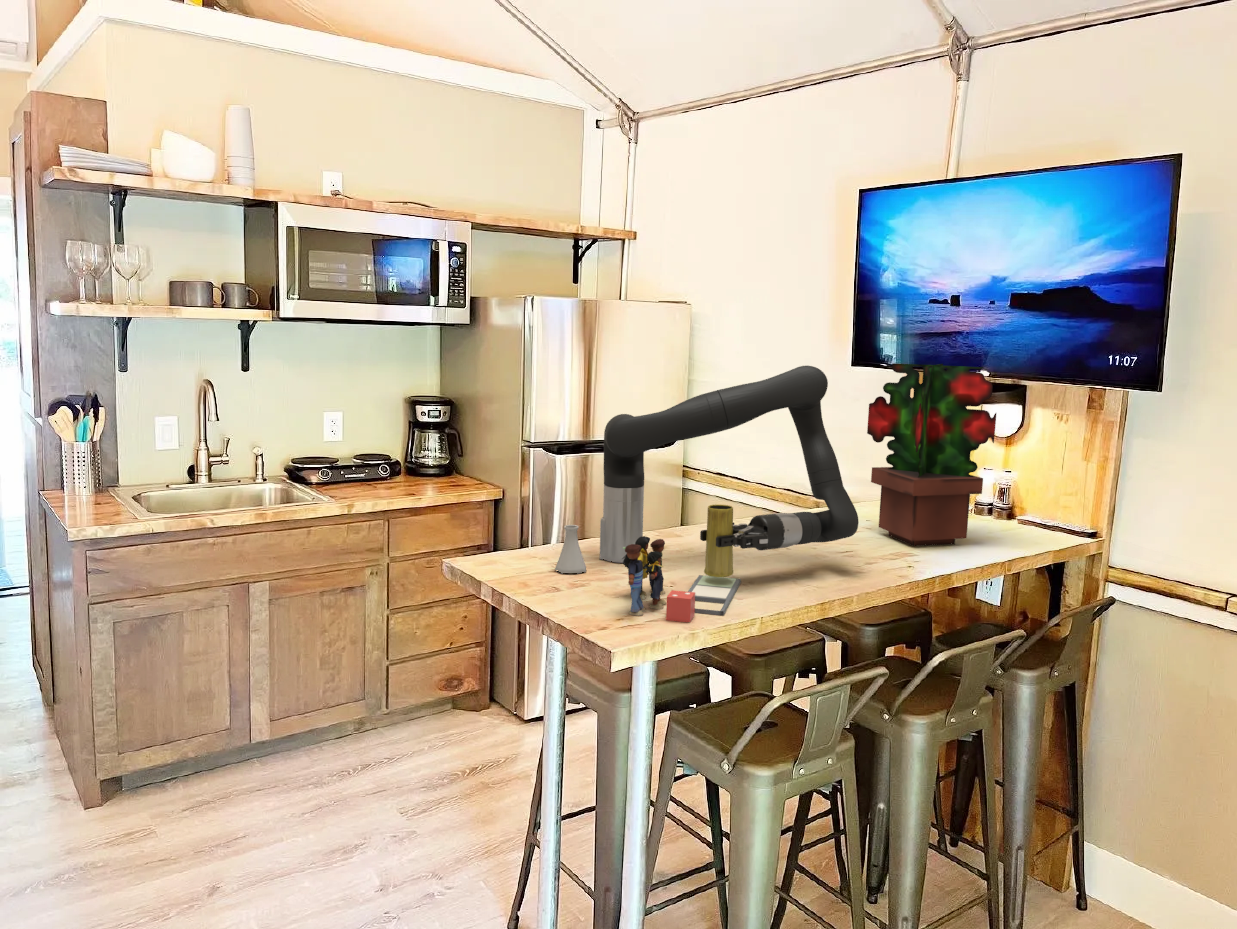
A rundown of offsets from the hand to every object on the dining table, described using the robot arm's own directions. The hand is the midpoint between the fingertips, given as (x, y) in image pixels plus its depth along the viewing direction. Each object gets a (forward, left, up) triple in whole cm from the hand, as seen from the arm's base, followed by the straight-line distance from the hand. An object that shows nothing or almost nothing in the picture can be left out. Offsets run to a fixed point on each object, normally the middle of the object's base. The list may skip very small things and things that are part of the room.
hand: (709, 538), depth 199 cm
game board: (+2, -6, -10) cm, 12 cm away
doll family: (-10, -15, -11) cm, 21 cm away
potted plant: (+45, +62, -10) cm, 77 cm away
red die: (-1, -22, -10) cm, 25 cm away
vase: (+2, +2, -8) cm, 8 cm away
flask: (-31, +3, -11) cm, 33 cm away
